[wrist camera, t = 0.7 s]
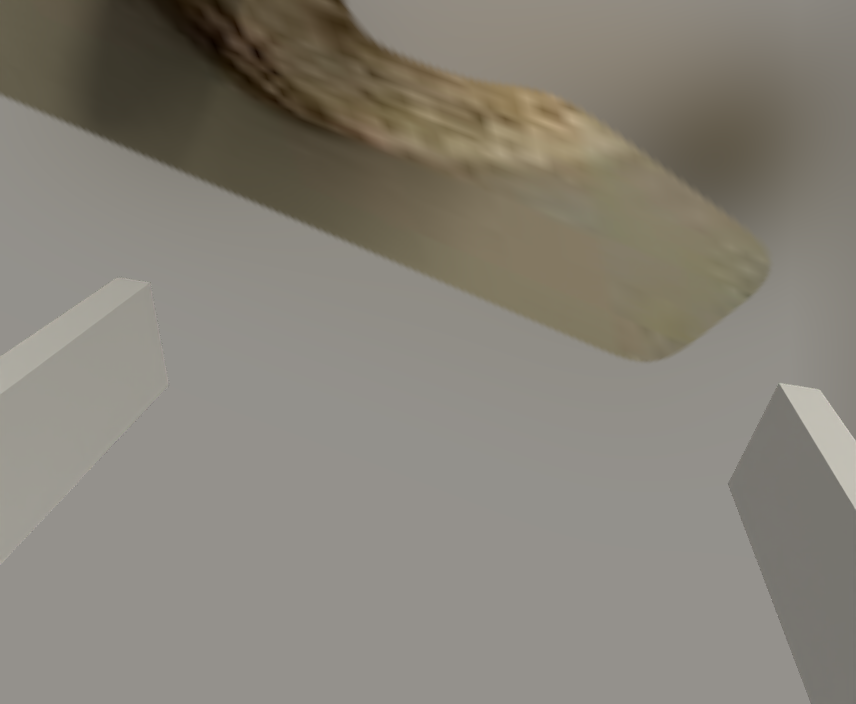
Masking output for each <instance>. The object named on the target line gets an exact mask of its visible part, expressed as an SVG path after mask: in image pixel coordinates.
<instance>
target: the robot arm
mask: <svg viewBox="0 0 856 704" xmlns="http://www.w3.org/2000/svg"><path fill="white" fill-rule="evenodd" d="M168 386H169V380H168V375H167V369H166V364H165V358H164V353H163V348H162V342H161V337H160V331H159V326H158V320H157V315H156V310H155V304H154V299H153V294H152V288H151V283H150V282H146V281H139V280H132V279H126V278H121V277H117V278H115V279H114V280H112V281H111V282H110V283H108V284H106V285H105V286H103V287H102V288H100V289H99V290H97V291H96V292H95V293H93V294H92V295H90V296H89V297H87V298H86V299H84V300H83V301H81V302H80V303H78V304H77V305H75V306H74V307H72V308H71V309H69V310H68V311H66V312H65V313H63V314H62V315H60V316H59V317H58V318H56V319H55V320H53V321H52V322H50V323H49V324H47V325H46V326H44V327H43V328H41V329H40V330H38V331H37V332H35V333H34V334H33V335H31V336H30V337H28V338H27V339H25V340H24V341H22V342H21V343H19V344H18V345H16V346H15V347H13V348H12V349H10V350H9V351H8V352H6V353H4V354H3V355H2V356H0V565H1V564H2V563H3V561H4V560H5V559H6V558H7V557H8V556H9V555H10V554H11V553H12V552H13V551H14V550H15V549H16V548H17V547H18V545H19V544H20V543H21V542H22V541H23V540H24V539H25V538H26V537H27V536H28V535H29V534H30V533H31V532H32V531H33V530H34V529H35V527H36V526H37V525H38V524H39V523H40V522H41V521H42V520H43V519H44V518H45V517H46V516H47V515H48V514H49V513H50V511H51V510H52V509H53V508H54V507H55V506H56V505H57V504H58V503H59V502H60V501H61V500H62V499H63V498H64V497H65V496H66V495H67V493H68V492H69V491H70V490H71V489H72V488H73V487H74V486H75V485H76V484H77V483H78V482H79V481H80V480H81V479H82V478H83V476H84V475H85V474H86V473H87V472H88V471H89V470H90V469H91V468H92V467H93V466H94V465H95V464H96V463H97V462H98V460H100V458H101V457H102V456H103V455H104V454H105V453H106V452H107V451H108V450H109V449H110V448H111V447H112V446H113V445H114V444H115V443H116V441H117V440H118V439H119V438H120V437H121V436H122V435H123V434H124V433H125V432H126V431H127V430H128V429H129V428H130V427H131V425H132V424H133V423H134V422H135V421H136V420H137V419H138V418H139V417H140V416H141V415H142V414H143V413H144V412H145V411H146V410H147V408H148V407H149V406H150V405H151V404H152V403H153V402H154V401H155V400H156V399H157V398H158V397H159V396H160V395H161V394H162V393H163V392H164V390H165V389H166V388H167V387H168ZM728 485H729V488H730V491H731V493H732V496H733V499H734V501H735V504H736V507H737V509H738V512H739V515H740V517H741V520H742V522H743V525H744V527H745V530H746V533H747V536H748V538H749V541H750V544H751V546H752V549H753V552H754V554H755V557H756V559H757V562H758V565H759V567H760V570H761V572H762V575H763V578H764V580H765V583H766V586H767V589H768V591H769V594H770V596H771V599H772V602H773V604H774V607H775V610H776V612H777V615H778V618H779V620H780V623H781V626H782V628H783V631H784V634H785V636H786V639H787V641H788V644H789V647H790V649H791V652H792V655H793V657H794V660H795V663H796V665H797V668H798V671H799V673H800V676H801V678H802V681H803V683H804V686H805V689H806V692H807V694H808V697H809V700H810V702H811V704H856V441H855V439H854V438H853V437H852V435H851V434H850V432H849V431H848V429H847V428H846V427H845V425H844V424H843V422H842V421H841V420H840V418H839V417H838V415H837V414H836V412H835V411H834V410H833V408H832V406H831V405H830V404H829V402H828V401H827V399H826V398H825V397H824V395H823V394H822V392H821V391H820V390H819V389H813V388H807V387H801V386H795V385H788V384H782V383H779V384H778V386H777V388H776V390H775V392H774V394H773V396H772V398H771V400H770V402H769V404H768V406H767V408H766V410H765V412H764V414H763V416H762V418H761V420H760V422H759V424H758V425H757V427H756V429H755V431H754V433H753V435H752V438H751V440H750V442H749V443H748V445H747V447H746V449H745V451H744V453H743V455H742V457H741V459H740V461H739V463H738V465H737V467H736V469H735V471H734V473H733V475H732V477H731V479H730V481H729V483H728Z"/></svg>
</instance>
